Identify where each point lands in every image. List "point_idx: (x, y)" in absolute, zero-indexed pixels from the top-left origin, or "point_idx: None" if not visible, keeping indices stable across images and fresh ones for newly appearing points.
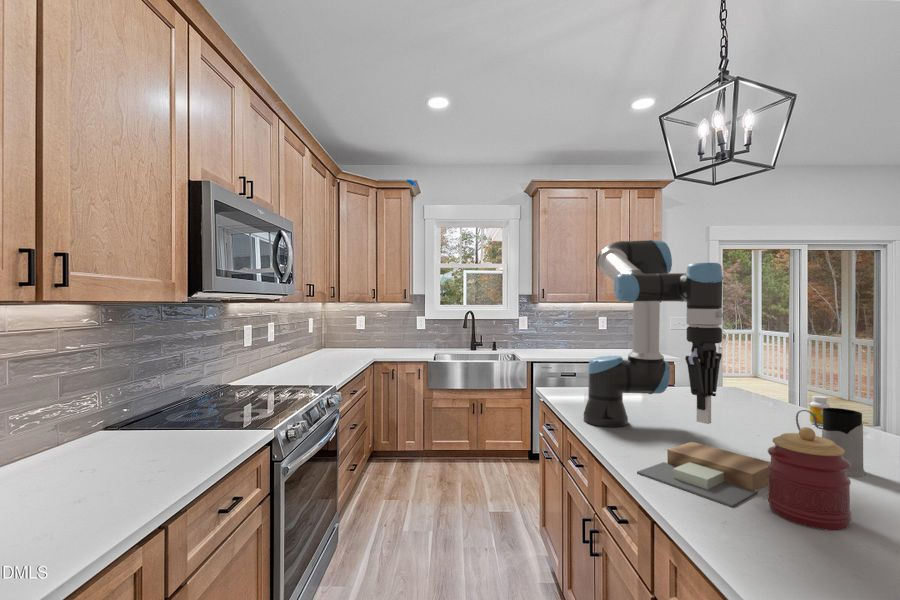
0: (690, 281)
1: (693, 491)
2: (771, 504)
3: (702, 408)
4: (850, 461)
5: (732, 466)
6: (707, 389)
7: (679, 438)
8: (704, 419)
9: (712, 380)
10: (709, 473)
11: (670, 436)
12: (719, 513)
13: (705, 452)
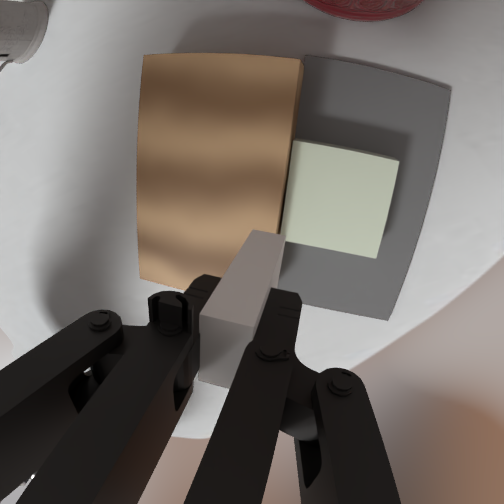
0: None
1: (432, 182)
2: (408, 11)
3: (300, 303)
4: (23, 6)
5: (273, 122)
6: (233, 381)
7: (82, 307)
8: (280, 261)
9: (93, 409)
10: (342, 169)
11: None
12: (496, 111)
13: (200, 223)
